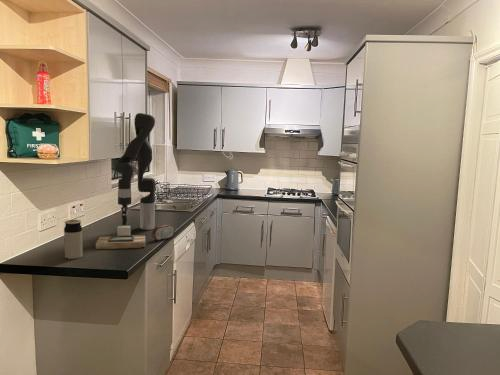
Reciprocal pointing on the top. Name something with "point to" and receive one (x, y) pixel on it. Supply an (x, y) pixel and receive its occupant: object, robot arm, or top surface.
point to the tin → (163, 232)
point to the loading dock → (120, 242)
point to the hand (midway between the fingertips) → (124, 223)
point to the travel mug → (73, 239)
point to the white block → (123, 230)
